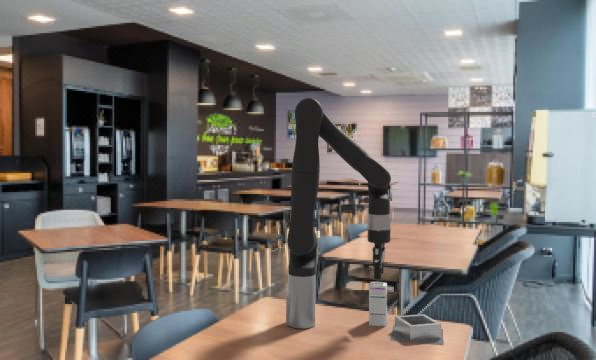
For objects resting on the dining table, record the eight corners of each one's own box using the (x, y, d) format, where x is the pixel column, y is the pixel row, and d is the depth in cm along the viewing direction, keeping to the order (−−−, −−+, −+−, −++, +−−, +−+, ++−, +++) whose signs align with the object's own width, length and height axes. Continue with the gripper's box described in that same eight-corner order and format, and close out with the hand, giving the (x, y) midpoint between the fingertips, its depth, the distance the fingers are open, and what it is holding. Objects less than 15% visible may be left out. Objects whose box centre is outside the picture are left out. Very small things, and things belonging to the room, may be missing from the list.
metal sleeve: (410, 341, 158) (410, 326, 158) (394, 330, 168) (394, 316, 168) (440, 338, 161) (441, 323, 161) (423, 327, 171) (424, 314, 171)
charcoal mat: (390, 344, 159) (390, 340, 159) (393, 328, 174) (393, 324, 174) (443, 349, 155) (443, 345, 155) (442, 332, 170) (442, 328, 170)
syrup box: (386, 330, 172) (387, 286, 172) (368, 328, 173) (368, 285, 173) (387, 324, 178) (387, 282, 177) (369, 323, 179) (370, 281, 178)
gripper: (370, 224, 182) (370, 271, 183) (364, 230, 168) (364, 280, 169) (392, 225, 180) (391, 272, 181) (388, 230, 166) (388, 281, 167)
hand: (378, 276), depth 175 cm, fingers open, 8 cm apart
